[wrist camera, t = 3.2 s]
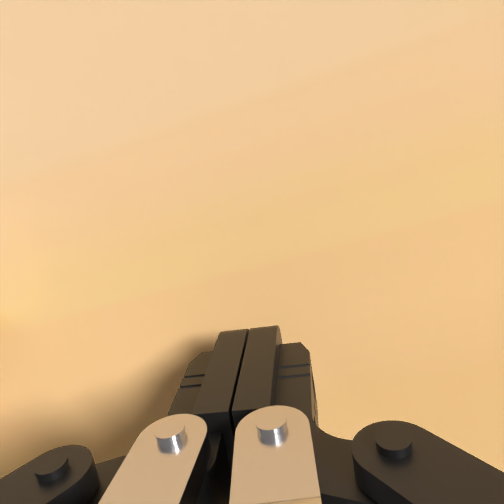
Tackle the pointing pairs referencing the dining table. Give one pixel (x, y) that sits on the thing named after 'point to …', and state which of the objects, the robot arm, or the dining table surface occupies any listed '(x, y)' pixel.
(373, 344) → the dining table surface
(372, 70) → the dining table surface
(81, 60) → the dining table surface
